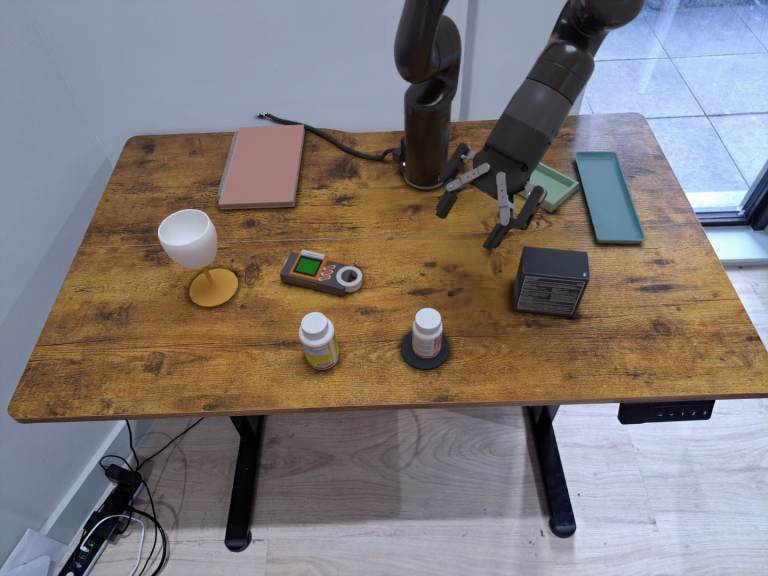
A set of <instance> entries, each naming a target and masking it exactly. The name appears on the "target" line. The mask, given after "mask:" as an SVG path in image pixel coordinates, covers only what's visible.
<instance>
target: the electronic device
mask: <svg viewBox="0 0 768 576" xmlns="http://www.w3.org/2000/svg"><path fill="white" fill-rule="evenodd" d="M279 276H280V281H281V282H282V283H287V284H291V285H294V286H299V287H303V288H307V289H312V290H315V291H320V292H325V293H327V294H333V295H337V296H340V297H345V295H346V293H354V292H357V291H358V290H359V289H360V288H362V285H363V274H362V271H361V270H360V269H359V268H358V267H356V263H355V262H352V261H347V260H342V259H338V258H334V257H329V256H327V255H326V253H325V254H324V253H319V252H315V251H311V250H306V249H302V250H299V249H295V248H293V249H292V250H291V251H290V254H289V255H288V258H286V259H285V261H284V263H283V267H282V269H281V271H280V272H279ZM353 277H354V278H356V279H354V280H353V281H352V278H353Z"/></svg>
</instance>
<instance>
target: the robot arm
mask: <svg viewBox="0 0 768 576" xmlns="http://www.w3.org/2000/svg"><path fill="white" fill-rule="evenodd" d="M450 1H451V0H404V3H403V6H402V11H401V14H400V18H399V21H398V26H397V29H396V31H395V32H396V33H395V36H394V41H393V42H394V43H393V60H394V65H395V69H396V71H397V73H398V75H399V76H400V77H401V79H403V80H404V81H405V82H406V83H409V85H408V87H407V88H406V90H405V92H404V95H403V135H402V136H401V137H400V145H399V146H398V147H390V148H387V149H385V150H384V151H383V152H382V153H381V155H375V156H374V155H368V154H365V153H362V152H361V151H357V150H355V149H353V148H351V147H348V146H346V145H345V144H343V143H341V142H340V141H338V140H337V139H336V138H334V137H332V136H331V135H329V134H327V133H325V132H324V131H322V130H320V129H318V128H316V127H314V126H312V125H309V124H306V123H302V122H300V121H299V122H298V121H294V120H288V119H285V118H280V117H277V116H276V115H273V114H271V113H269V112H266V113H267V114H265V116H263V115H261V113H260V114H259V115H258V116H257V117H258V118H259V119H262V118H263V117H266V118H269V119H271V120H273V121H274V122H277V123H280V124H286V125H304V129H305V130H306V129H307V130H309V131H311V132H313V133H315V134H318V135H319V136H321V137H323V138H324V139H326V140H328V141H329V142H331V143H332V144H334V145H336V146H337V147H338V148H339V149H341V150H343V151H345V152H346V153H348V154H349V153H350V154H352V155H354V156H357V157H360V158H362V159H364V160H370V161H381V160H384V159H385V158H386V156H387V155H388V154H392V160H393V161H394V162H395V163H397V164H399V165H400V170H401V171H400V172H401V173H400V174H401V175H402V176H403V178H404V182H405V183H406V184H407V185H408V186H409V187H411V188H413V189H415V190H419V191H433V190H436V189H439V188H441V187H442V186H443V185H444V187H445V188H444V189H445V190H444V192H443V194H442V195H441V197H440V199H439V201H438V203H437V204H436V206H435V211H436V212H435V216H436V217H438V218H439V219H442V220H445V219H446V218H447V216H449V214H450V212H451V211H452V209H453V207H454V205H455V203H456V202H457V200H458V198H459V196H457V195H460V194H462V193H464V192H466V191H469V190H473V189H476V190H478V191H480V192H482V193H484V194H487V196H489V197H490V198H492V199H494V200H495V201H497V206H498V209H499V223H498V222H496V223H495V225H494V226H493V228H492V230H491V231H490V232H489V234H488V236H487V237H486V239H485V240H484V242H483V244H482V248H483V249H485V250H487V251H492V250H493V249H495V250H496V249H498V248H499V247H500V246H501V244H502V243H503V241H504V240H505V238H506V236H507V235H508V234H509V232H510V231H511V230H519V231H523V232H526V231H527V230H528V229H529V227H530V226H531V224H532V222H533V221H534V219H535V217H536V215H537V214H538V213H539V210H540V208H542V207H541V205H542V203H543V201H544V200H545V198H546V196H547V190H545V188H543V187H542V186H540V185H535V184H532V183H530V177H531V174H532V173H533V172H534V170H535V169H536V167H537V166H538V164H539V163H540V162H541V161H542V160H543V158H544V156H545V155H546V153H547V152H548V150H549V149H550V147H551V145H552V144H553V142H554V140H556V139H557V138H558V136H559V134H560V132H561V130H562V128H563V126H564V125H565V123H566V121H567V119H568V116H569V114H570V113H571V110H572V109H573V106H575V104H576V102H577V100H578V99H579V97H580V96H581V95H582V93H583V91H584V90H585V89H586V87H587V85H588V84H589V82H590V80H591V78H592V76H593V74H594V71H595V69H596V68H595V67H596V62H595V57H596V55H597V53H598V52H599V50H600V48H601V46H602V44H603V42H604V41H605V39H606V38H607V36H608V35H609V34H610V32H613V31H616V30H618V29H621V28H624V27H626V26H627V25H629V24H631V23H632V22H633V21H635V20H636V19H637V18H638V17H639V15H640V14H641V12H642V10H643V9H644V7H645V5H646V1H647V0H566V1H565V3H564V5H563V6H562V8H561V11H560V12H559V14H558V17H557V19H556V21H555V23H554V25H553V27H552V29H551V33H550V35H549V37H548V40H547V43H546V45H545V46H544V48H543V49H542V51H541V52H540V54H539V55H538V57H537V58H536V60H535V61H534V63H533V65H532V67H531V68H530V70H529V72H528V73H527V75H526V77H525V79H524V80H523V81H522V83H521V84H520V86H519V87H518V88H517V90H516V91H514V94H513V95H512V96H511V97H510V100H509V101H508V103H507V104H506V106H505V108H504V109H503V112H502V113H501V115H500V116H499V118H498V119H497V122H496V123H495V125H494V126H493V128H492V130H491V131H490V133H489V135H488V137H487V138H486V140H485V142H484V145H483V147H482V148H481V149H480V150H479V151H478V152H477V151H475V150H474V149H473V148H472V147H471V146H470V145H468V144H467V143H465V142H461V143H459V144H458V146H457V147H456V148H455V151H454V152H453V153H452V155H451V157H450V158H449V149H450V138H451V137H450V134H451V122H452V120H451V119H452V108H453V107H452V106H453V101H454V99H455V97H456V95H457V92H458V86H459V80H460V70H461V63H462V54H463V53H462V52H463V46H462V43H463V42H462V37H461V33H460V30H459V28H458V26H457V24H456V22H455V21H454V20H453V19H452V18H451V17H449V16H448V15H446V14H444V13H445V10H446V8H447V7H448V5H449V3H450ZM268 113H269V114H268ZM470 162H472V169H471V170H470V171H467V172H465V173H464V174H463V173H462V175H460V176H459V174H460V173H461V172H462V170H463V168H464V167H465V166H466V165H468V164H470ZM458 176H459V177H458ZM457 177H458V178H457ZM525 189H526V195H525V197H526V198H525V197H524V198H525V199H526V200H525V202H524V204H523V206H522V208H521V209H520V211H519V213H518V215H517V216H516V215H515V213H516V212H515V210H516V195H518V193H520V192H522V191H524V190H525Z"/></svg>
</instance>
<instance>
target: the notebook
mask: <svg viewBox="0 0 768 576" xmlns="http://www.w3.org/2000/svg"><path fill="white" fill-rule="evenodd" d="M305 132H306V128H304V125H290V124H286V125H264V126H263V125H261V126H260V125H259V126H239V127H238V130H237V132H235V133H233V137H232V139H231V144H230V148H229V151H228V155H227V158H226V162H225V166H224V169H223V172H222V175H221V180H220V183H219V187H218V189H217V194H216V196H215V197H216V198H215V199H216V200H217V202H218V204H217V205H218V206H219V210H222V211H223V210H244V209H245V210H247V209H270V208H271V209H273V208H295V207H296V200H297V199H296V198H297V191H298V184H299V177H300V169H301V164H302V163H301V162H302V155H303V149H304V140H305V134H306V133H305Z"/></svg>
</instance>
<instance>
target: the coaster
mask: <svg viewBox="0 0 768 576" xmlns="http://www.w3.org/2000/svg"><path fill="white" fill-rule="evenodd" d="M412 337H413V329H412V330H410V331H408V333H407V334H405V336H404V337H403V339H402V340H401V344H400V353H401V355H402V358H403V359H404V361H405V362H406V363H407V364H408V365H409V366H411V367H413V368H415V369H417V370H420V371H431V370H434V369H437V368H439V367H441V366H442V365H443V364H444V363H445V362H446V361H447V359H448V357H449V354H450V343H449V341H448V339H447V337H446V336H445V335H444V334H443V333H442V341H441V349H440V351H439V353H438V354H437V355H436V356H435V357H432V358H422V357H419V356H418V355H416V354H415V352H414V351H413V348H412Z"/></svg>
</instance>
